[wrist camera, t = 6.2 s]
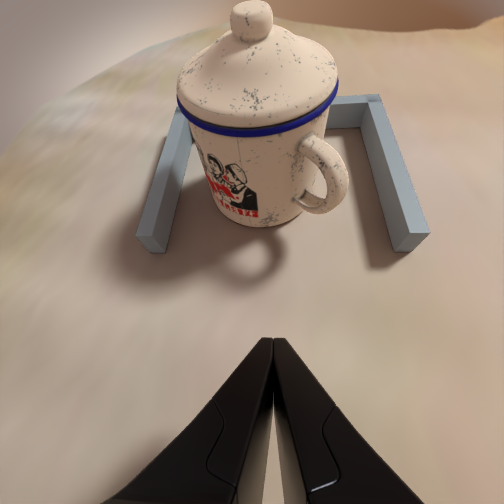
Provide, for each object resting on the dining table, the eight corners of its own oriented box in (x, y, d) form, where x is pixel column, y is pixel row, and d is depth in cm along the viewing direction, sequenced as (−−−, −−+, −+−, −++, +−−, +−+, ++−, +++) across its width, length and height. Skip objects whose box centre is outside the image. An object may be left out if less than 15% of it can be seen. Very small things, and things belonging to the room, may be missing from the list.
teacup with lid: (192, 185, 22) (121, 14, 12) (269, 140, 24) (265, -38, 14) (278, 281, 17) (281, 123, 7) (367, 212, 19) (470, 14, 9)
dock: (411, 251, 17) (430, 232, 15) (150, 252, 19) (135, 236, 17) (370, 119, 24) (379, 93, 22) (184, 128, 26) (176, 106, 24)
